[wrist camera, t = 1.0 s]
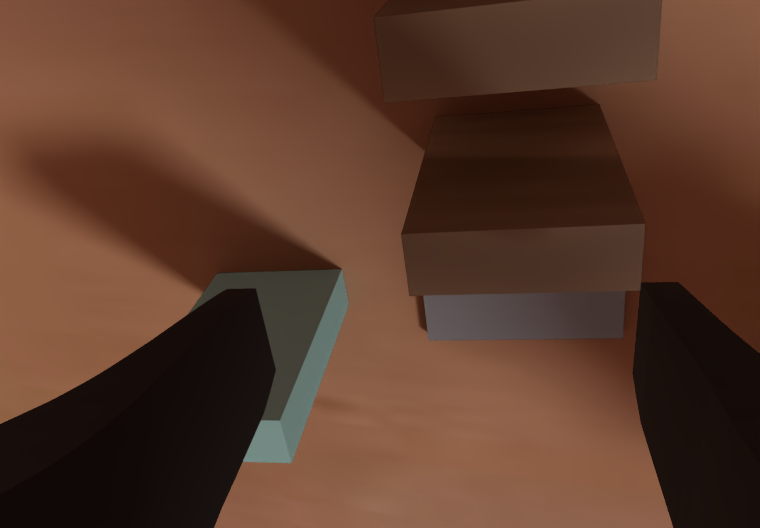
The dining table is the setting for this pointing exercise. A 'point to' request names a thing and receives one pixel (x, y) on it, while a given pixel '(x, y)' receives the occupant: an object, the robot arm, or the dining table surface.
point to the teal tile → (290, 347)
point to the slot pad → (526, 316)
